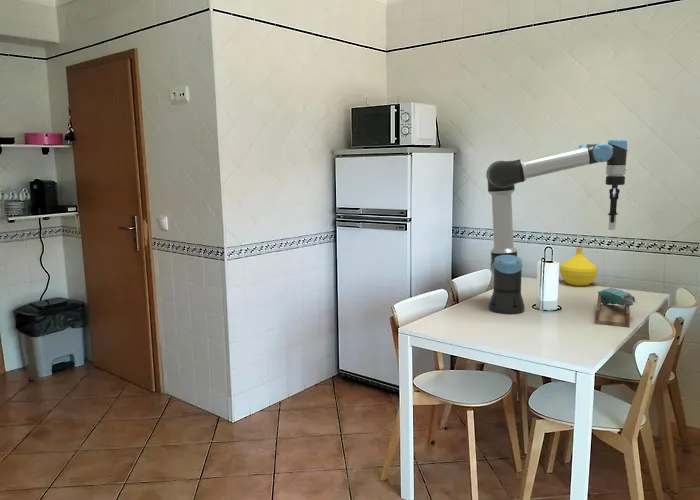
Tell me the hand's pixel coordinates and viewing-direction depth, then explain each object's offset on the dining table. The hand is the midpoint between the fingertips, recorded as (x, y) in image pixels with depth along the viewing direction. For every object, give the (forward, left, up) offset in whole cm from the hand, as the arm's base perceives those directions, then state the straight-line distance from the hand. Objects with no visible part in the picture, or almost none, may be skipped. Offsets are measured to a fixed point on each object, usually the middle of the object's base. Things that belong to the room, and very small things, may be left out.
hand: (611, 229), depth 241 cm
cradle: (+2, -19, -34) cm, 39 cm away
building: (-1, -1, -30) cm, 30 cm away
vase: (-15, +41, -34) cm, 56 cm away
